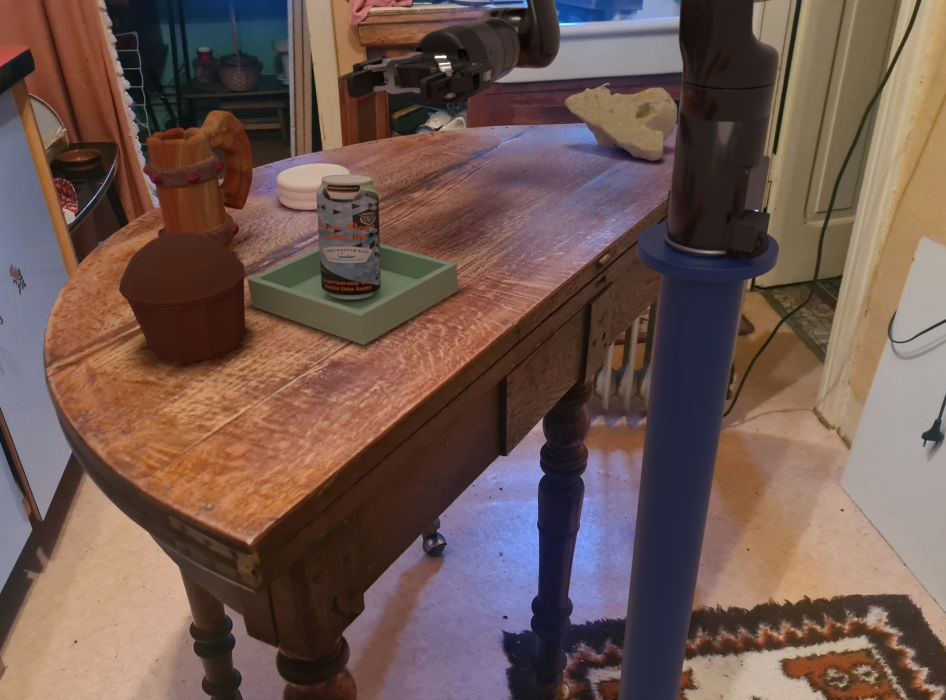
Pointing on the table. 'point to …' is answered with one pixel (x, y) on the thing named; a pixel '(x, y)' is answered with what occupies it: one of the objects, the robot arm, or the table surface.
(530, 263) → the table surface
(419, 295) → the tray
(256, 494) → the table surface
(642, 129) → the cheese
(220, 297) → the muffin
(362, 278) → the beverage can
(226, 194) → the mug
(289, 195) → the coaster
